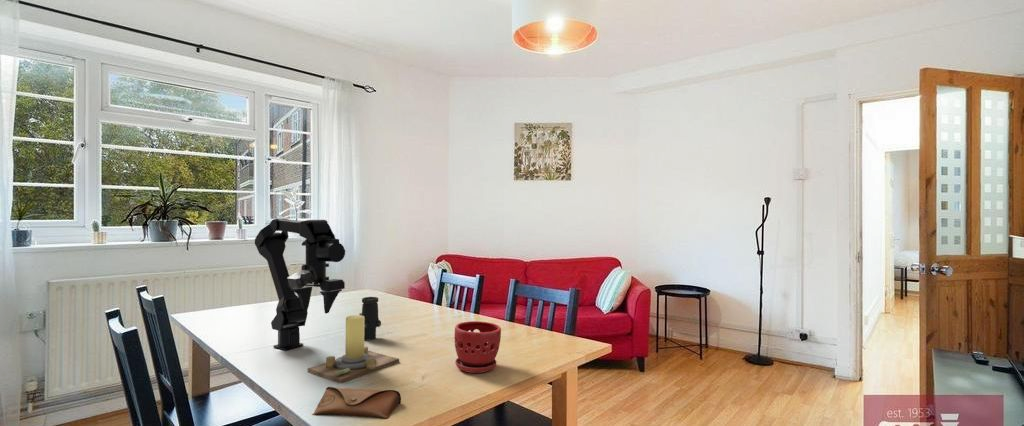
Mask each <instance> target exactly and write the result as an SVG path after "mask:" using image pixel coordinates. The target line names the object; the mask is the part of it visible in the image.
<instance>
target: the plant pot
mask: <svg viewBox="0 0 1024 426" xmlns="http://www.w3.org/2000/svg"><path fill="white" fill-rule="evenodd" d="M476 330H477V331H476ZM478 331H479V332H478ZM501 334H502V328H501V326H500V325H499V324H496V323H493V322H487V321H475V320H474V321H464V322H460V323H459V322H458V323H457V324H456V325H455V327H454V347H455V352H456V353H455V354H456V357H457V358H456V359H455V366H456V367H457V368H458V369H459V370H461V371H462V372H465V373H470V374H471V373H473V374H478V373H487V372H488V371H491V370H492V369H494V368H495V367H496V365H497V360H496V358H497V355H498V353H499V349H500V345H501V339H502V338H501V337H502V335H501Z"/></svg>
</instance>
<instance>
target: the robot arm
mask: <svg viewBox="0 0 1024 426" xmlns="http://www.w3.org/2000/svg"><path fill="white" fill-rule="evenodd" d="M279 231H280V232H279ZM289 233H293V234H299V237H301V238H304V239H305V240H304V241H303V242H301V246H304V247H305V263H304V264H302V265H301V270H299V271H296V272H295V273H293V274H291V275H290V274H289V273H290V272H289V270H288V267H287V264H286V260H285V257H284V252H285V250H286V241H287V240H288V239H289ZM254 246H255V247H256V249H257V251H258V253H259V255H260V256H261V257H263V258H264V259H265V260H266V261H267V265H268V268H269V272H270V274H271V279H272V281H273V286H274V288H275V292H276V295H277V298H278V302H277V304H276V308H275V312H276V314H275V316H274V318H273V319H272V320H271V323H270V324H271V329H272V330H275V331H277V344H274V345H273V348H276V349H278V350H279V349H280V350H283V351H288V350H291V349H296V348H298V347H303V346H304V343H303V342H300V340H301V339H300V338H301V337H300V327H305V326H306V322H307V318H308V313H309V312H308V309H309V306H310V302H311V297H312V290H313V287H316V288H320V290H321V291H319V294H321V295H322V297H323V309H324V314H329V313H330V311H331V308H332V306H333V304H334V302H335V300H336V299H337V296H338V295H339V294H340V292H342V290H344V289H345V287H346V283H345V281H344V280H343V279H340V278H339V279H338V278H332V279H330V276H327V268H329V267H330V263H339V262H341V261H342V260H343V259H344V257H345V256H346V249H345V247H344V245H343V244H341V243H340V239H339V238H336V235H335V233H334V232H333V230H332V228H331V226H330V224H329V223H328V220H327V219H303V220H298V219H297V220H296V219H288V218H286V217H285V218H283V217H282V218H273V219H272V220H271V221H270V223H268V225H265V226H264V227H263V228H262V229H260V230H259V232H258V233H257V235H256V236H255V239H254ZM296 294H297V295H296Z"/></svg>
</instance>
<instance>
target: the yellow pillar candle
mask: <svg viewBox="0 0 1024 426" xmlns="http://www.w3.org/2000/svg"><path fill="white" fill-rule="evenodd" d="M364 321H365V317H364V316H361V315H359V314H357V315H356V314H355V315H349V316H346V317H345V344H344V345H345V347H344V348H345V354H344V355H342V356H341V357H342V362H343V363H346V364H357V363H362V362H365V361H366V359H367V358H368V355H367V354H366V353H364V347H365V340H364Z"/></svg>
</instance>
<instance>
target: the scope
mask: <svg viewBox="0 0 1024 426" xmlns="http://www.w3.org/2000/svg"><path fill="white" fill-rule="evenodd" d="M361 302H362V305H361V312H359V314H358V315H361V316H364V317H365V321H364V341H372V340H373V341H374V340H376V339H377V328H380V327H381V325H382V321H381V320H380V319H379V304H378V302H379V297H377V296H366V297H363V298H361Z"/></svg>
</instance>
